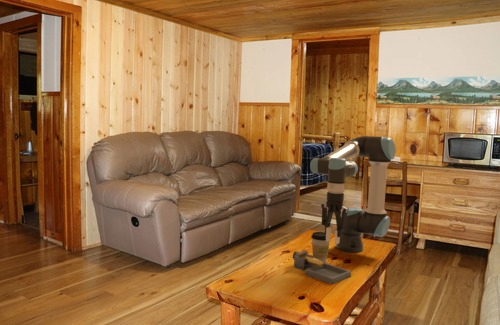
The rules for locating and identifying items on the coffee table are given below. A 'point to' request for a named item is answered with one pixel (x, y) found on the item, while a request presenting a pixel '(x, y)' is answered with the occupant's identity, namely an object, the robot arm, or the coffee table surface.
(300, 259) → the pin mount
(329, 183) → the robot arm
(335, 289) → the coffee table surface
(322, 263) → the lock pin
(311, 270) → the grey square tray
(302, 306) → the coffee table surface
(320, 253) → the coffee cup
